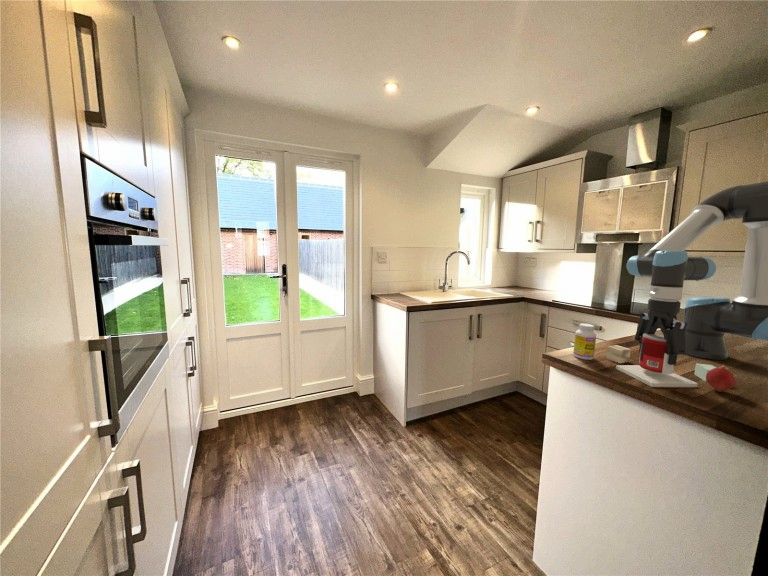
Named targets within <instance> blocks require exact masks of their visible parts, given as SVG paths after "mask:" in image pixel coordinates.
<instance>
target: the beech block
mask: <svg viewBox="0 0 768 576" xmlns="http://www.w3.org/2000/svg"><path fill="white" fill-rule="evenodd" d="M631 351H632V349H631V348H628V347H625V346H620V345H618V344H615V345H607V346H606V354H605V359H607V360H609V361H612V362H614V361H615V363H617V362H618V363H617V364H624V363H625V362H626V363H630V360H631Z"/></svg>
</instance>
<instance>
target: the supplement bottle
mask: <svg viewBox="0 0 768 576" xmlns="http://www.w3.org/2000/svg"><path fill="white" fill-rule="evenodd" d="M594 330H595V325H594V324H590V323H579V329H577V330H576V331H575V334H574V335H575V336H574V344H573V354H572V355H573V356H574V357H576V358H578V359H581V360H585V361H587V360H590V361H591V360H593V359H594V358H595V349H596V342H597V334H596V332H594Z"/></svg>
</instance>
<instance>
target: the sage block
mask: <svg viewBox="0 0 768 576" xmlns="http://www.w3.org/2000/svg"><path fill="white" fill-rule="evenodd" d="M714 368H717V367H716V366H714V365H713V364H707V363H706V364H704V363H695V369H694V375H695V376H696V377H698V378H699V379H701V380H702V381H704V382H706V383H708V382H707V380H706V374H707V373H708V372H709V371H710V370H712V369H714Z"/></svg>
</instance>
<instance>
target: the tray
mask: <svg viewBox="0 0 768 576" xmlns="http://www.w3.org/2000/svg"><path fill="white" fill-rule="evenodd" d="M615 369H616V370H618V371H620V372H622V373H623V374H626V375H627V376H630V377H632V378H634V379H635V380H638V381H639V382H640V383H643V384H646V385H647V386H649V387H652V388H698V385H699V383H698V382H696V381H693V380H691V379H688V378H686V377H684V376H682V375H679V374H677V373H674V372H673V374H663V373H657V372H652V371H649V370H646V369H643V368H642V367H640V364H635V365H633V364H632V365H629V364H627V365H626V364H625V365H624V364H620V365H619V364H616V366H615Z"/></svg>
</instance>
